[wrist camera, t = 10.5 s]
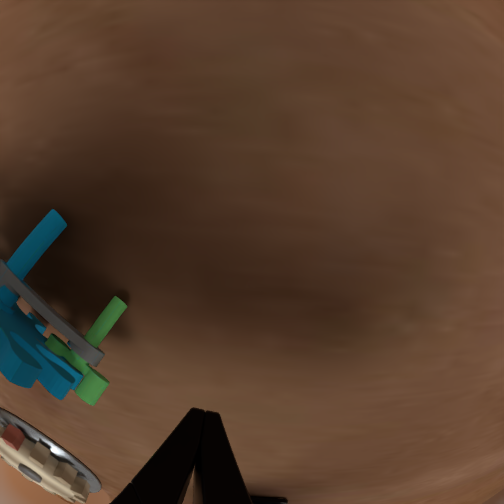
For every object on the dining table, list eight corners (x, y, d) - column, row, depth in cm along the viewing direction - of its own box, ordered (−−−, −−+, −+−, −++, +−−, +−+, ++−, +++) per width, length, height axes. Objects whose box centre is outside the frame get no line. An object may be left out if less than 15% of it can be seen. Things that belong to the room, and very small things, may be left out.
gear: (-54, 248, 10) (-138, 222, 2) (7, 173, 13) (-19, 77, 5) (75, 375, 14) (110, 470, 7) (129, 301, 17) (209, 327, 9)
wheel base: (87, 451, 19) (86, 454, 18) (110, 502, 24) (109, 504, 24) (-33, 382, 18) (-34, 384, 17) (11, 453, 23) (10, 455, 23)
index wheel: (-44, 366, 16) (-79, 409, 9) (106, 482, 20) (88, 537, 13) (-35, 412, 20) (-57, 445, 13) (76, 495, 24) (62, 533, 17)
